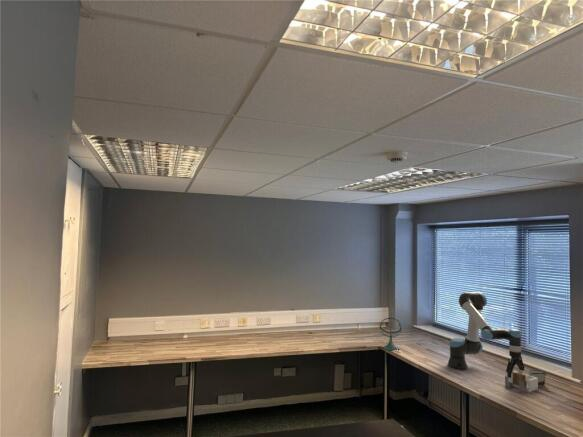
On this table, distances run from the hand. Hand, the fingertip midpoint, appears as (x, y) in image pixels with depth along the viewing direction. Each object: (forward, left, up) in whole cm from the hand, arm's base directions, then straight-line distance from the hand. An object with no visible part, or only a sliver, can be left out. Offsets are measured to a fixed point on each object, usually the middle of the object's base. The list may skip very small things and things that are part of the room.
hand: (515, 380), depth 270 cm
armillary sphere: (-117, -7, -6) cm, 117 cm away
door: (+1, 0, -2) cm, 2 cm away
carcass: (0, +6, -6) cm, 8 cm away
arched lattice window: (+2, +24, -6) cm, 24 cm away
